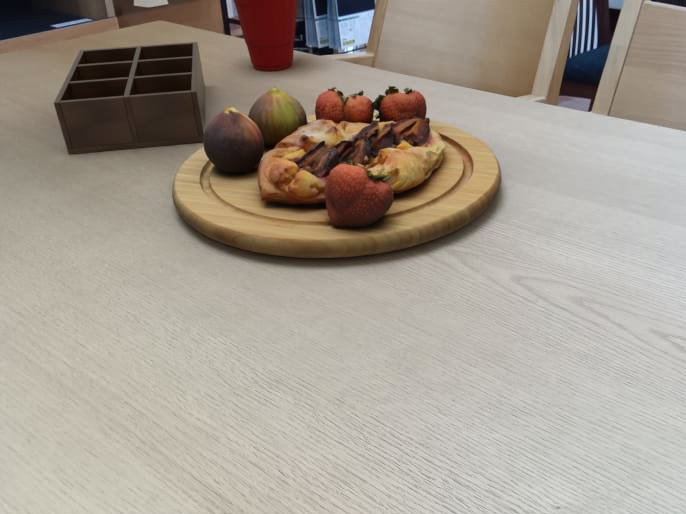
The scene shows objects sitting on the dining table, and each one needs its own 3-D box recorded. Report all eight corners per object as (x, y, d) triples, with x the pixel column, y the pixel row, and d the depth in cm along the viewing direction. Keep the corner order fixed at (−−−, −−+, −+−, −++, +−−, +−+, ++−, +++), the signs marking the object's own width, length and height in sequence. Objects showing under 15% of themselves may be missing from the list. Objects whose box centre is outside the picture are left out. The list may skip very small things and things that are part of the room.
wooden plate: (510, 269, 61) (519, 171, 56) (127, 264, 63) (102, 169, 58) (492, 131, 86) (497, 54, 81) (219, 131, 88) (207, 56, 83)
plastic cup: (326, 64, 109) (319, -29, 102) (265, 80, 103) (254, -17, 96) (281, 51, 115) (272, -37, 108) (222, 66, 110) (208, -27, 102)
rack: (68, 154, 83) (53, 102, 79) (91, 94, 100) (79, 50, 97) (205, 142, 85) (196, 91, 82) (204, 85, 102) (197, 41, 99)
